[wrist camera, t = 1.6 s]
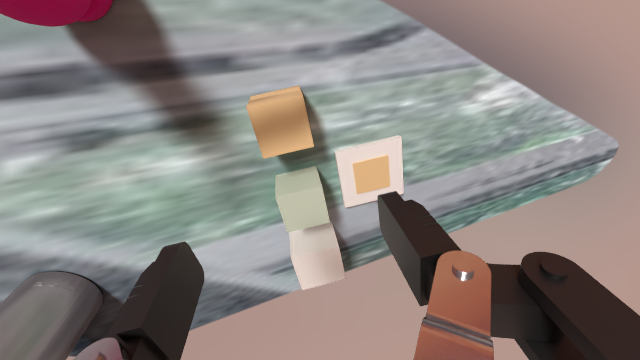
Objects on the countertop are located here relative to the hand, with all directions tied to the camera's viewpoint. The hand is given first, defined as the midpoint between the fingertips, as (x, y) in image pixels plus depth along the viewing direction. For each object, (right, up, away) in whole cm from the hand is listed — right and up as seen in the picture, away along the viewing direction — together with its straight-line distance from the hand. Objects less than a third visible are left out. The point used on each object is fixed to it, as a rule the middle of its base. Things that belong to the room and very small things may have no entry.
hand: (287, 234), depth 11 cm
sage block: (-1, +1, +22) cm, 22 cm away
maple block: (-3, +9, +17) cm, 20 cm away
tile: (+8, +3, +22) cm, 24 cm away
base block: (+1, -7, +27) cm, 28 cm away
